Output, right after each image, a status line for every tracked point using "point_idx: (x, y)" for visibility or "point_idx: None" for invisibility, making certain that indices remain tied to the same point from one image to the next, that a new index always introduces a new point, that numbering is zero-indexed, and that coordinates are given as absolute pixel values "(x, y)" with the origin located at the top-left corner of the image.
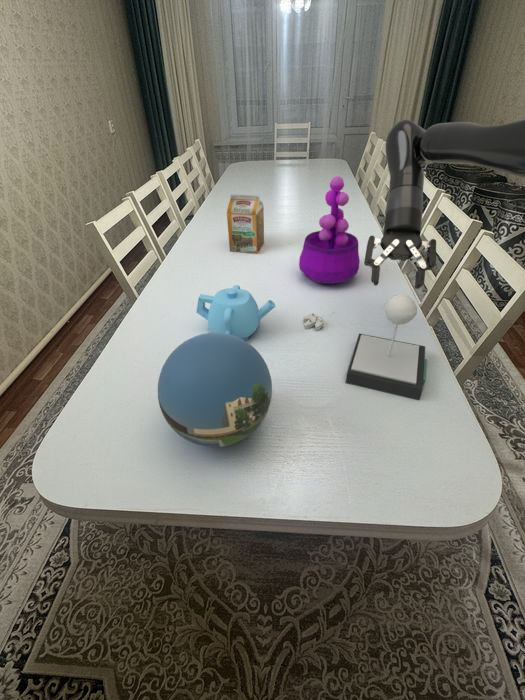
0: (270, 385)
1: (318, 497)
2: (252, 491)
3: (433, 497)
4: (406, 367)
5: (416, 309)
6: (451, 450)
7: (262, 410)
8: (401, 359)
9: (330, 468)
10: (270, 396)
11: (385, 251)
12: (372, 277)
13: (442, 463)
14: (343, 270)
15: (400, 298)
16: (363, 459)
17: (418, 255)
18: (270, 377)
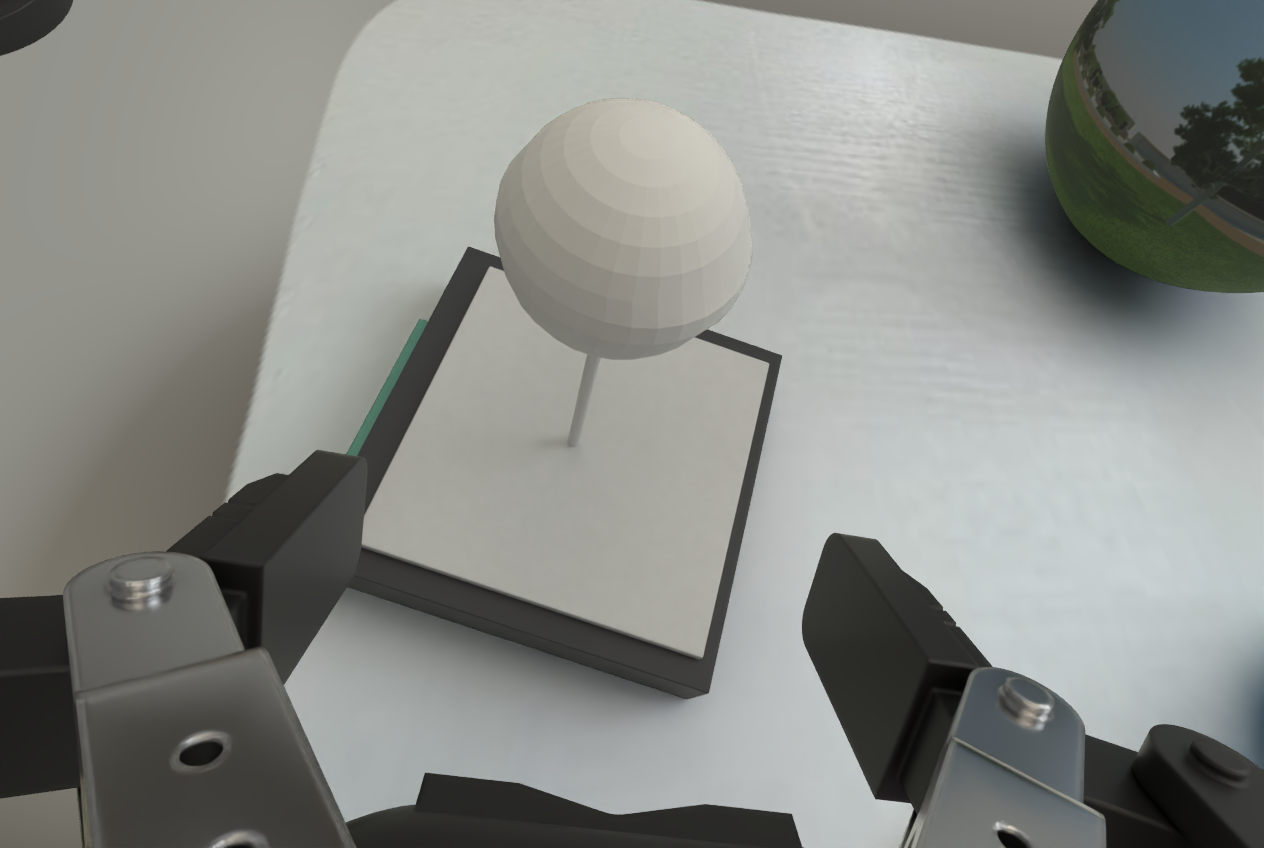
0: (1134, 23)
1: (820, 48)
2: (963, 75)
3: (552, 17)
4: (501, 359)
5: (516, 156)
6: (443, 107)
7: (1099, 3)
8: (508, 418)
9: (798, 99)
10: (1100, 38)
11: (1058, 846)
12: (928, 593)
13: (490, 79)
14: None
15: (679, 129)
16: (712, 110)
17: (155, 699)
18: (1153, 44)
